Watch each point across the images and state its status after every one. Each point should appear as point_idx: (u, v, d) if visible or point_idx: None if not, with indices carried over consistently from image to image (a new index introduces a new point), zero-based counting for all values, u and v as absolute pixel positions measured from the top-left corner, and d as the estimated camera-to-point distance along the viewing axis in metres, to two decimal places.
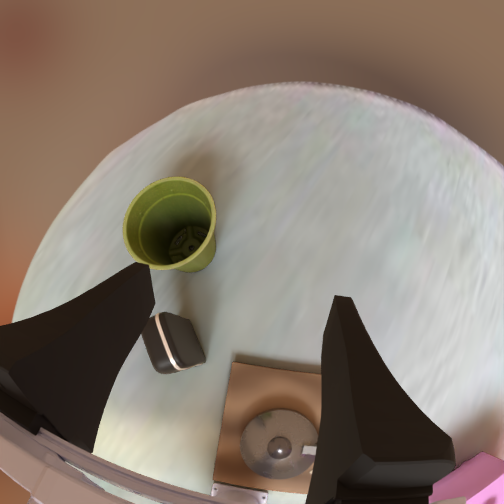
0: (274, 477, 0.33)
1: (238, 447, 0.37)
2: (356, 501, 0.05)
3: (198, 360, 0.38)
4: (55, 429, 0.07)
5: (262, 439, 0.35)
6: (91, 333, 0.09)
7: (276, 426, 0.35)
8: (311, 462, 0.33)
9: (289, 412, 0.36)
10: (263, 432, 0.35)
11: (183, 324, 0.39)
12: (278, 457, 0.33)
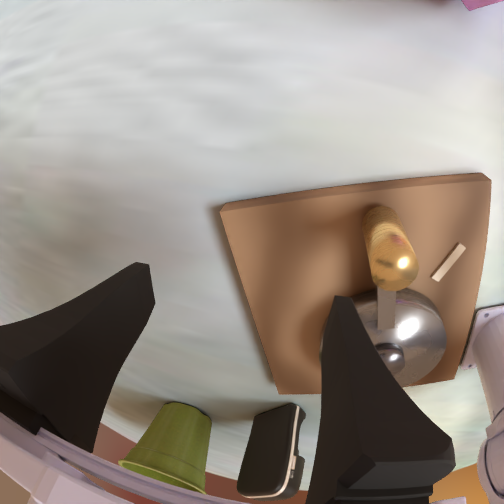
0: (442, 346, 0.20)
1: None
2: (356, 501, 0.05)
3: (285, 433, 0.29)
4: (55, 428, 0.07)
5: None
6: (91, 333, 0.09)
7: None
8: (412, 309, 0.19)
9: (320, 357, 0.23)
10: None
11: (252, 444, 0.32)
12: (401, 363, 0.20)
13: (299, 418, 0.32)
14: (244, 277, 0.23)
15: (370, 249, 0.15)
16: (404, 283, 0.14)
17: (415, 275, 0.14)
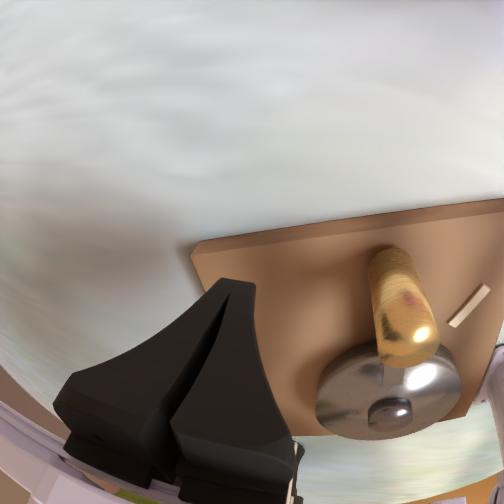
0: (456, 396, 0.16)
1: None
2: (199, 481, 0.06)
3: None
4: (163, 475, 0.06)
5: None
6: (197, 363, 0.08)
7: (349, 419, 0.19)
8: (424, 365, 0.15)
9: (316, 411, 0.19)
10: (364, 427, 0.19)
11: None
12: (408, 419, 0.16)
13: (297, 455, 0.28)
14: None
15: (377, 316, 0.11)
16: (419, 359, 0.10)
17: (434, 350, 0.10)
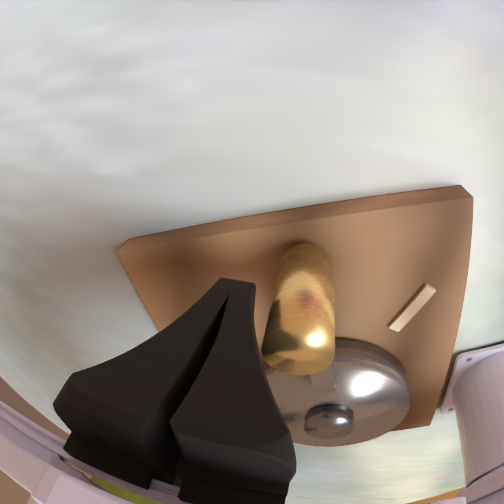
0: (405, 407, 0.16)
1: None
2: (199, 481, 0.06)
3: None
4: (163, 475, 0.06)
5: None
6: (198, 363, 0.08)
7: (288, 423, 0.19)
8: (356, 372, 0.15)
9: None
10: None
11: None
12: (348, 427, 0.16)
13: None
14: (158, 323, 0.19)
15: (268, 316, 0.11)
16: (314, 367, 0.10)
17: (330, 358, 0.10)
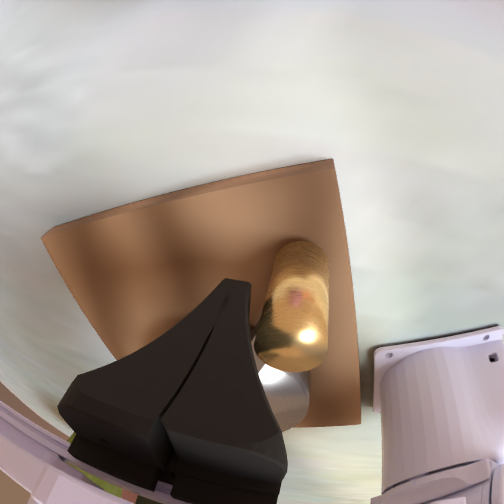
0: (296, 421, 0.18)
1: None
2: (192, 479, 0.06)
3: None
4: (168, 477, 0.06)
5: None
6: None
7: None
8: (282, 375, 0.16)
9: None
10: None
11: None
12: None
13: None
14: (79, 301, 0.20)
15: (272, 300, 0.11)
16: (292, 367, 0.10)
17: (313, 366, 0.10)
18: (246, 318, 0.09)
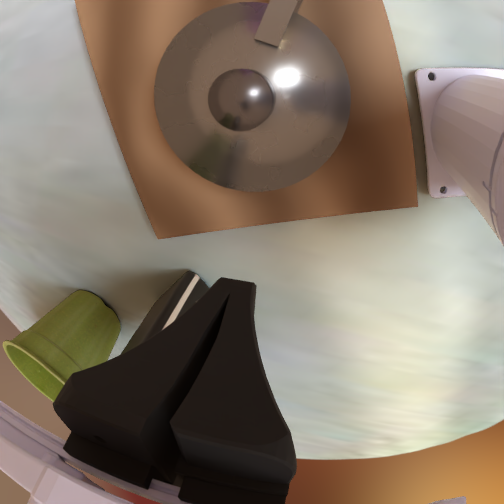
0: (336, 134, 0.14)
1: (310, 175, 0.18)
2: (199, 481, 0.06)
3: (166, 303, 0.23)
4: (163, 475, 0.06)
5: (217, 134, 0.15)
6: (197, 363, 0.08)
7: (189, 96, 0.15)
8: (314, 30, 0.11)
9: (161, 63, 0.14)
10: (200, 128, 0.15)
11: (138, 330, 0.25)
12: (264, 108, 0.13)
13: (196, 291, 0.25)
14: (92, 51, 0.16)
15: None
16: None
17: None
18: (252, 319, 0.09)
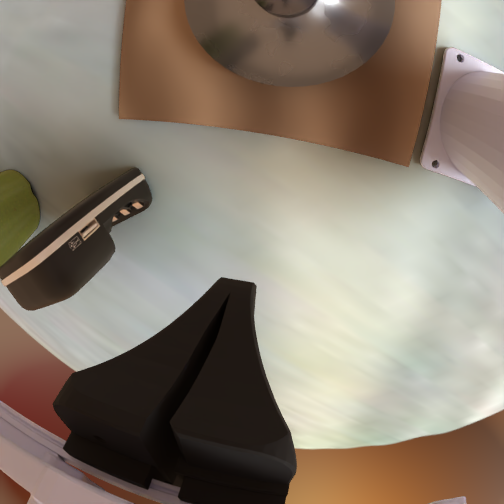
0: (364, 55, 0.12)
1: (313, 94, 0.15)
2: (199, 481, 0.06)
3: (102, 188, 0.18)
4: (163, 475, 0.06)
5: (242, 13, 0.12)
6: (197, 363, 0.08)
7: None
8: None
9: None
10: (226, 2, 0.11)
11: None
12: (306, 0, 0.10)
13: (137, 189, 0.21)
14: None
15: None
16: None
17: None
18: (252, 319, 0.09)
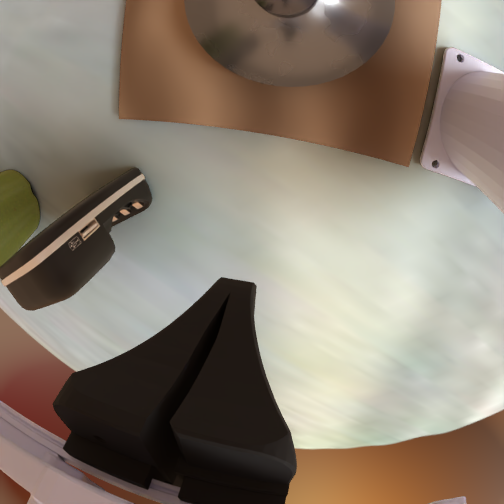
0: (364, 55, 0.12)
1: (313, 94, 0.15)
2: (199, 481, 0.06)
3: (102, 188, 0.18)
4: (163, 475, 0.06)
5: (242, 13, 0.12)
6: (197, 363, 0.08)
7: None
8: None
9: None
10: (226, 2, 0.11)
11: None
12: (306, 0, 0.10)
13: (137, 189, 0.21)
14: None
15: None
16: None
17: None
18: (252, 319, 0.09)
